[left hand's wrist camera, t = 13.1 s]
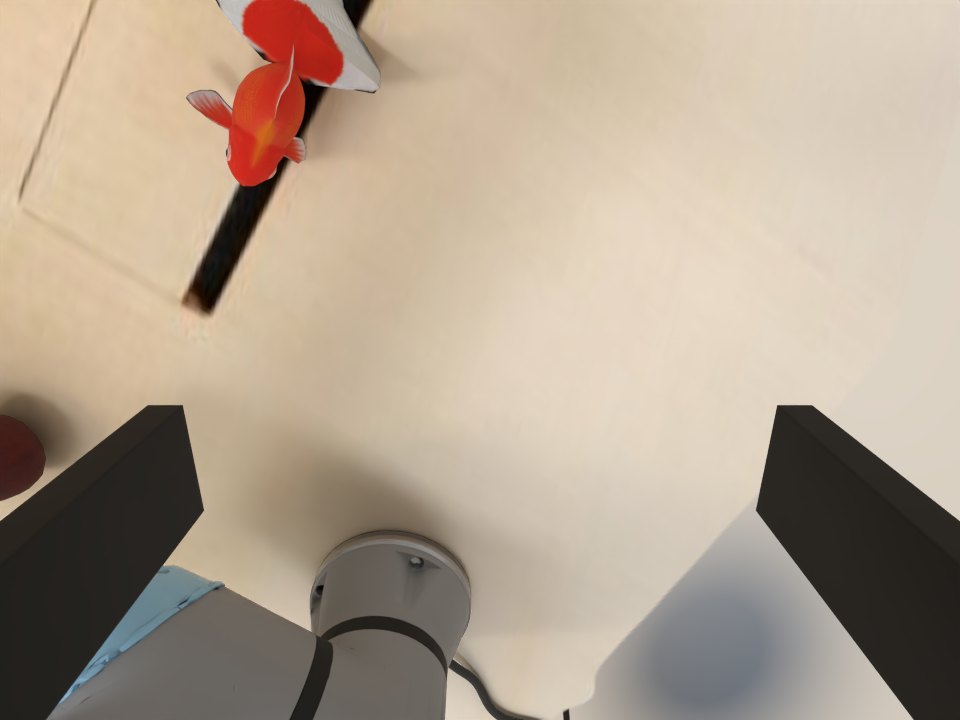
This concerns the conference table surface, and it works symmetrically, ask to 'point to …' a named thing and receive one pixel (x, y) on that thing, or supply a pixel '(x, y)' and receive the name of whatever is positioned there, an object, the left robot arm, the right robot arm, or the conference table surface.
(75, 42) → the conference table surface
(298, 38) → the fish
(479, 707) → the conference table surface
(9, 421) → the dark maroon plum
